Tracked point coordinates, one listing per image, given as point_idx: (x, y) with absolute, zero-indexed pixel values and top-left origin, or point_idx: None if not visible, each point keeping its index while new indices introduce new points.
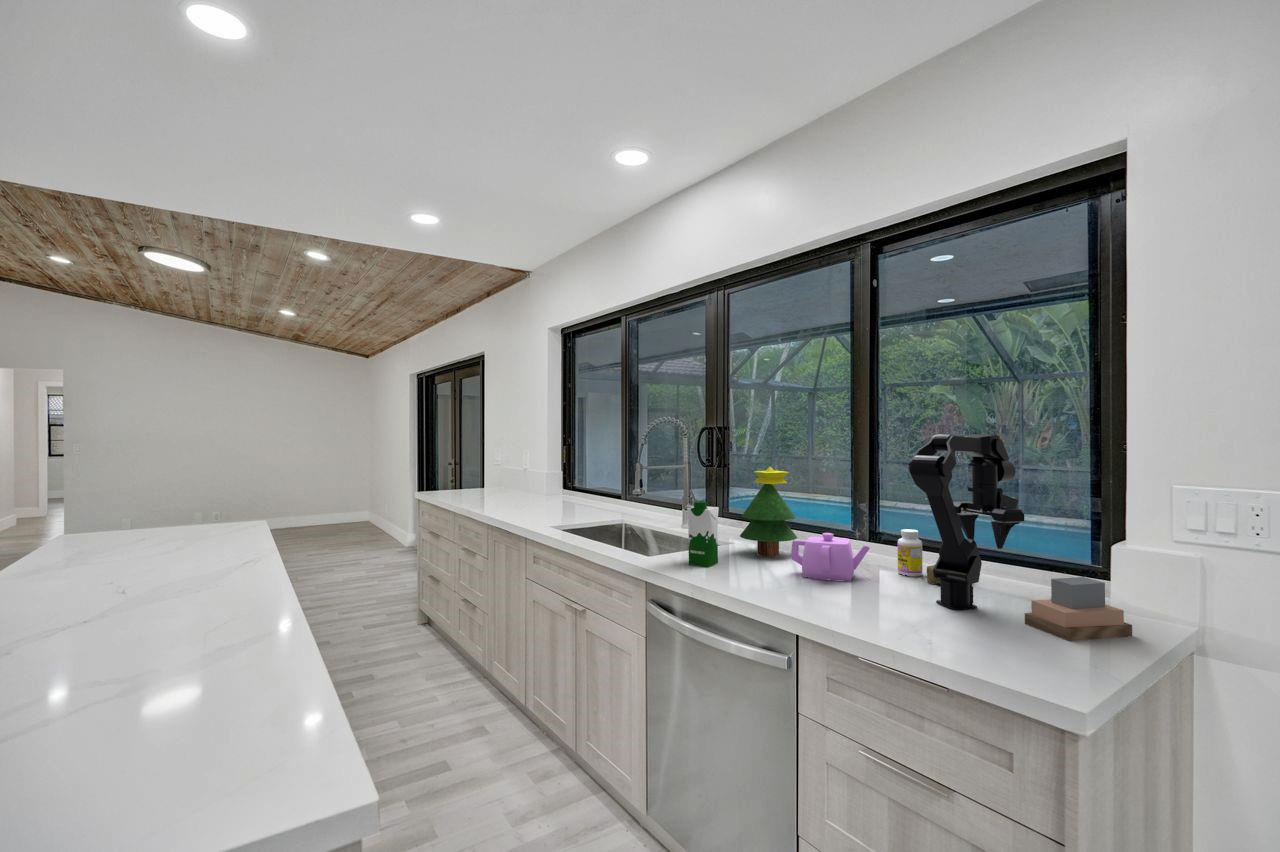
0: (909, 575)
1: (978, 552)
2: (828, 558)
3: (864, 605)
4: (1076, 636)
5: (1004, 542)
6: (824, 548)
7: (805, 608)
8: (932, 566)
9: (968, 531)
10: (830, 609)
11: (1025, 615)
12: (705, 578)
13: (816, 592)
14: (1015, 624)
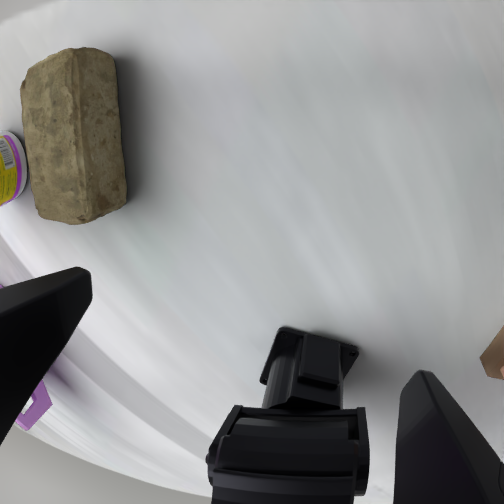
0: (22, 190)
1: (351, 489)
2: (40, 416)
3: (208, 451)
4: None
5: (462, 412)
6: (26, 429)
7: (190, 482)
8: (43, 204)
9: (33, 370)
10: (206, 476)
11: (487, 373)
12: (47, 434)
13: (118, 431)
14: (464, 375)
